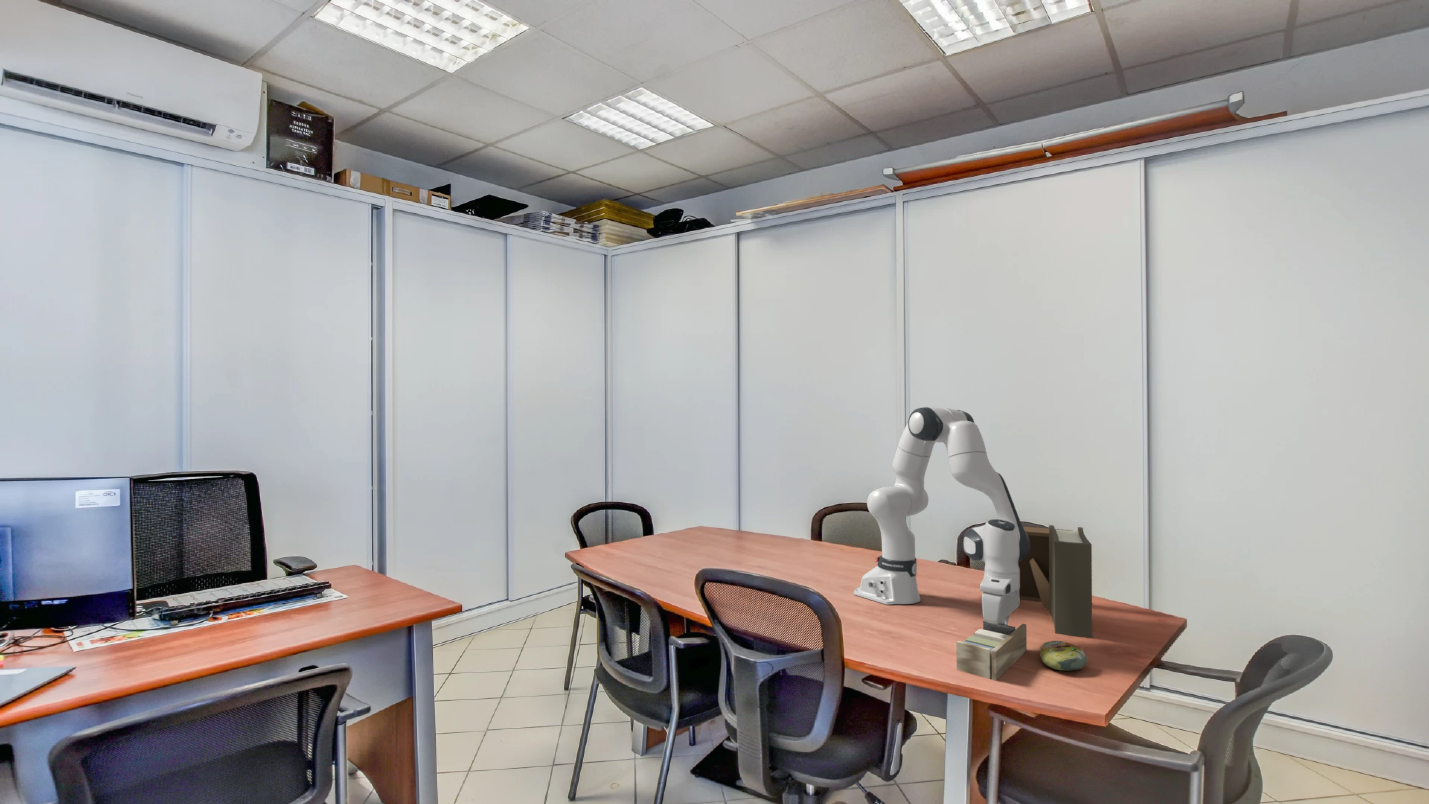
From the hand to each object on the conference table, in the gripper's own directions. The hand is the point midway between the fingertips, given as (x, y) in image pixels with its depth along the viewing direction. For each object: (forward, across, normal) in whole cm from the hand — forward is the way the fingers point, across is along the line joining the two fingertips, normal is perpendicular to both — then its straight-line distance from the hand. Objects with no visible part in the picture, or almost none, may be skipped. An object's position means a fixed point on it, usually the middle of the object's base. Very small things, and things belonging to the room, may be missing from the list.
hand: (1002, 631), depth 170 cm
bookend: (+4, -1, 0) cm, 5 cm away
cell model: (+5, +1, +15) cm, 16 cm away
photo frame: (+5, -47, -3) cm, 47 cm away
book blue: (+5, +19, 0) cm, 20 cm away
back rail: (+5, +10, 0) cm, 11 cm away
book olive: (+5, +14, 0) cm, 15 cm away
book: (+5, -33, +10) cm, 34 cm away
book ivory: (+5, +8, 0) cm, 9 cm away
